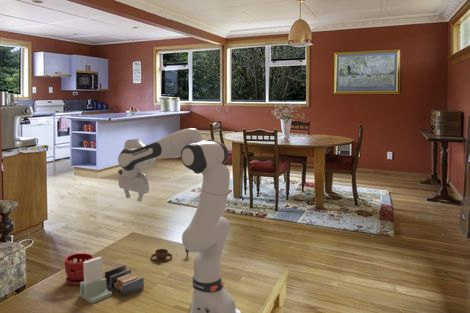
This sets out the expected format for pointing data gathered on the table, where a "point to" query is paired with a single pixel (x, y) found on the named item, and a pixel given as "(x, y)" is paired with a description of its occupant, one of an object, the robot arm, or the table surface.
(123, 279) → the offcut upper
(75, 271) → the plant pot
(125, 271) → the offcut rack
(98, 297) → the sheet stand
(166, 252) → the place setting
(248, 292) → the table surface
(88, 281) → the tall sheet
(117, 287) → the offcut lower
